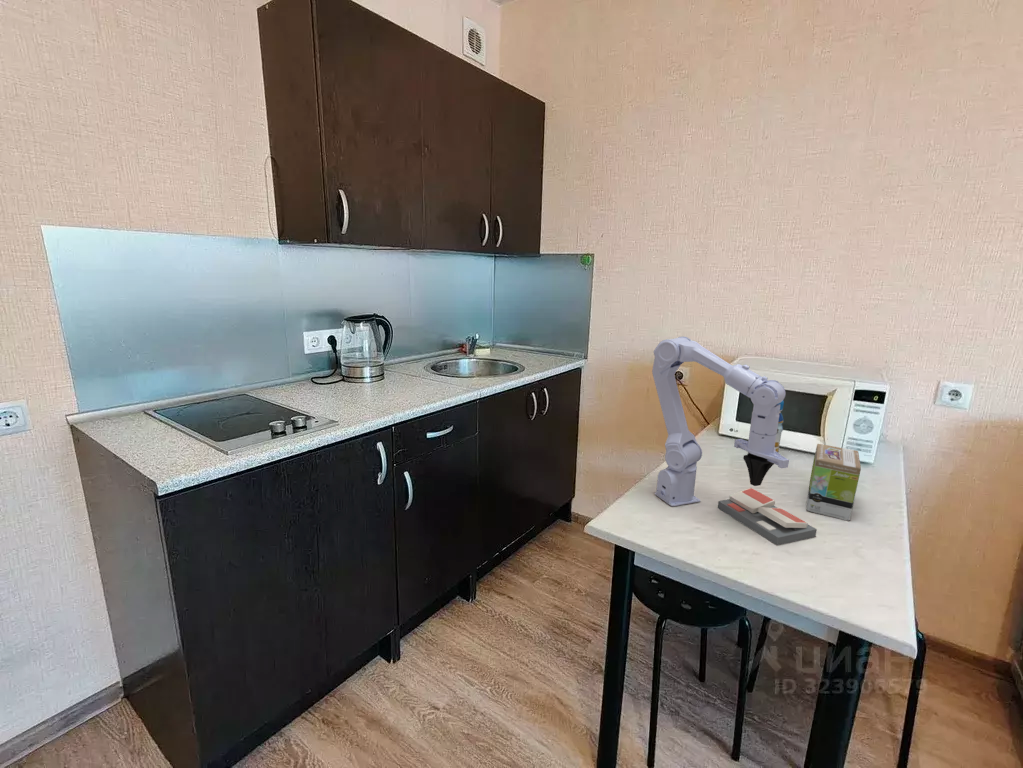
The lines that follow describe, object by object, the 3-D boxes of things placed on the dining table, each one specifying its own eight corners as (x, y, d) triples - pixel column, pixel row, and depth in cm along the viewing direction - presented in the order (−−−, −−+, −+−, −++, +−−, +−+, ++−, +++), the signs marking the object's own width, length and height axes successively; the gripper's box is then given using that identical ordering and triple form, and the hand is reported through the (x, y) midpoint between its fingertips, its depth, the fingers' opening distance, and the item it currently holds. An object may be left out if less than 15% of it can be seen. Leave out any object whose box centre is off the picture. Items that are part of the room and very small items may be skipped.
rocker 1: (753, 513, 124) (753, 509, 124) (729, 499, 132) (729, 495, 131) (774, 504, 126) (774, 500, 126) (750, 491, 134) (750, 487, 133)
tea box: (851, 522, 126) (862, 467, 122) (805, 511, 131) (814, 458, 127) (849, 499, 138) (859, 449, 134) (807, 490, 143) (815, 441, 140)
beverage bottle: (781, 456, 169) (790, 399, 164) (773, 463, 163) (782, 404, 158) (755, 449, 174) (763, 394, 170) (746, 456, 168) (754, 399, 164)
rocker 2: (785, 527, 115) (786, 522, 115) (757, 511, 123) (759, 506, 122) (806, 528, 118) (807, 523, 118) (778, 512, 125) (779, 507, 125)
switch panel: (776, 545, 114) (778, 535, 114) (717, 507, 132) (718, 498, 131) (815, 536, 118) (817, 526, 118) (753, 501, 136) (754, 492, 135)
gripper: (802, 440, 113) (793, 494, 116) (752, 421, 126) (745, 471, 130) (778, 443, 111) (770, 499, 114) (730, 423, 124) (723, 474, 127)
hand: (755, 484), depth 122 cm, fingers closed
